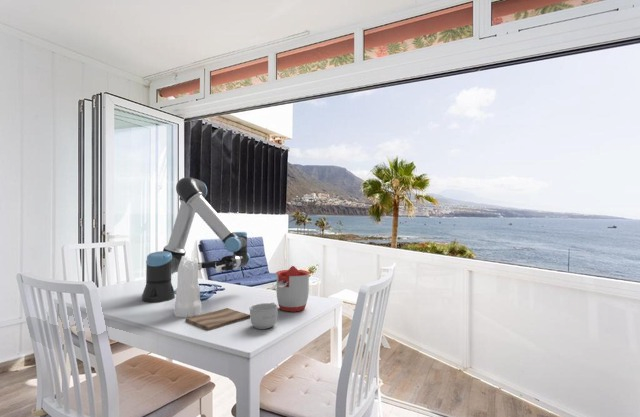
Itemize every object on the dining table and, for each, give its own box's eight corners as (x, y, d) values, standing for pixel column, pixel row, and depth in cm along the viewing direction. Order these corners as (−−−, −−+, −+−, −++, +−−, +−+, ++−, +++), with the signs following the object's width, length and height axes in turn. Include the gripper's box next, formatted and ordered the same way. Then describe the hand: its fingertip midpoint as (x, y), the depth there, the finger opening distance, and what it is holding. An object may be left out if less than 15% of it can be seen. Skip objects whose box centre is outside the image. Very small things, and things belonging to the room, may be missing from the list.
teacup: (264, 333, 122) (265, 311, 122) (243, 327, 128) (243, 307, 128) (287, 323, 134) (287, 303, 134) (267, 318, 140) (267, 299, 140)
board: (185, 321, 134) (185, 318, 134) (227, 310, 150) (227, 308, 150) (208, 330, 124) (208, 327, 124) (250, 317, 140) (250, 315, 140)
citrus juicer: (266, 311, 150) (266, 266, 151) (288, 302, 165) (289, 262, 166) (294, 316, 142) (295, 270, 143) (315, 307, 157) (315, 265, 158)
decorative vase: (205, 314, 144) (206, 256, 145) (180, 319, 137) (181, 258, 137) (194, 308, 152) (195, 254, 153) (170, 313, 145) (171, 256, 145)
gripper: (251, 270, 170) (227, 278, 150) (210, 268, 178) (182, 275, 158) (251, 256, 170) (227, 261, 150) (210, 254, 178) (182, 259, 158)
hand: (204, 268), depth 154 cm, fingers open, 13 cm apart
